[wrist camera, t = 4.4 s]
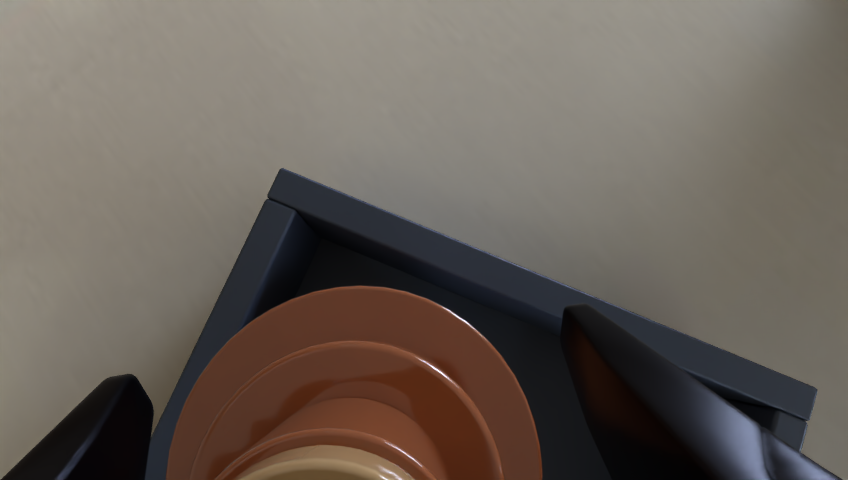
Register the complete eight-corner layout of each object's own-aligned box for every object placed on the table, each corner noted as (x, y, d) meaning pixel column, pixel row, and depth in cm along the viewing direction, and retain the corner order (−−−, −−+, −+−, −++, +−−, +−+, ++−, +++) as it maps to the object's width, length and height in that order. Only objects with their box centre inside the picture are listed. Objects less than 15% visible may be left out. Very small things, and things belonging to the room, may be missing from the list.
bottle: (426, 502, 15) (542, 1302, 3) (273, 437, 15) (-291, 920, 3) (485, 345, 16) (784, 406, 4) (340, 284, 16) (134, 137, 4)
